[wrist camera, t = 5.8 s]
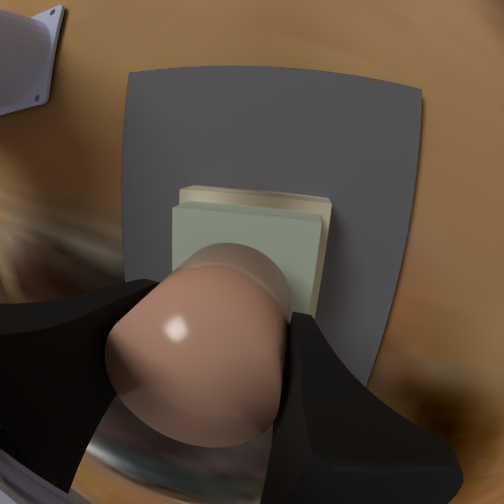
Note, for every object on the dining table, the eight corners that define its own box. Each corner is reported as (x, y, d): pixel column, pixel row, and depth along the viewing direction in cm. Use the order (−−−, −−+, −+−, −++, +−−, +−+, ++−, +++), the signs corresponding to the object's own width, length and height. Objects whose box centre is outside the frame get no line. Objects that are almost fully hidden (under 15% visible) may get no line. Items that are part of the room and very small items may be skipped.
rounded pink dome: (173, 337, 12) (115, 419, 8) (177, 233, 11) (96, 286, 6) (280, 360, 12) (263, 461, 7) (301, 254, 11) (298, 331, 6)
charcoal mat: (139, 366, 22) (136, 371, 21) (133, 74, 16) (128, 72, 15) (357, 401, 20) (357, 407, 19) (418, 91, 14) (422, 89, 13)
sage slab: (187, 314, 16) (174, 333, 15) (189, 200, 15) (172, 207, 13) (302, 331, 16) (301, 353, 14) (319, 213, 14) (321, 222, 12)
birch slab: (191, 304, 19) (179, 320, 17) (193, 185, 16) (179, 189, 15) (310, 321, 18) (310, 340, 16) (328, 198, 16) (331, 203, 14)
